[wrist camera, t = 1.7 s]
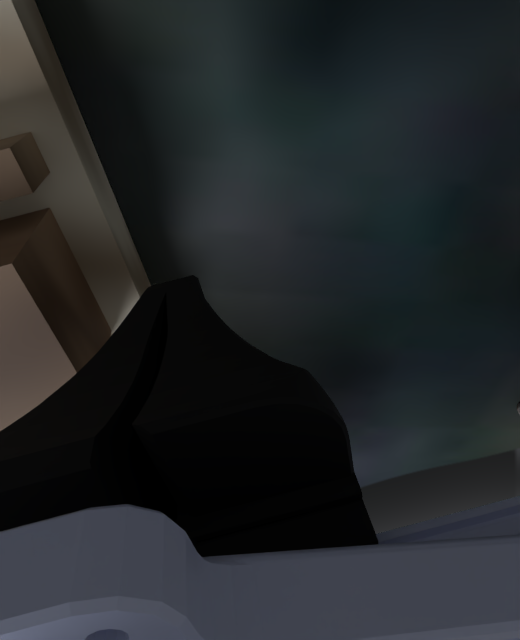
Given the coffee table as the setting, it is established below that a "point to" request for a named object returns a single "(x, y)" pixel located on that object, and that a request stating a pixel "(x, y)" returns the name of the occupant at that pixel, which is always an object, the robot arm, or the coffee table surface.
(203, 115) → the coffee table surface
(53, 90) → the deck
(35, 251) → the block
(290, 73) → the coffee table surface
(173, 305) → the robot arm
